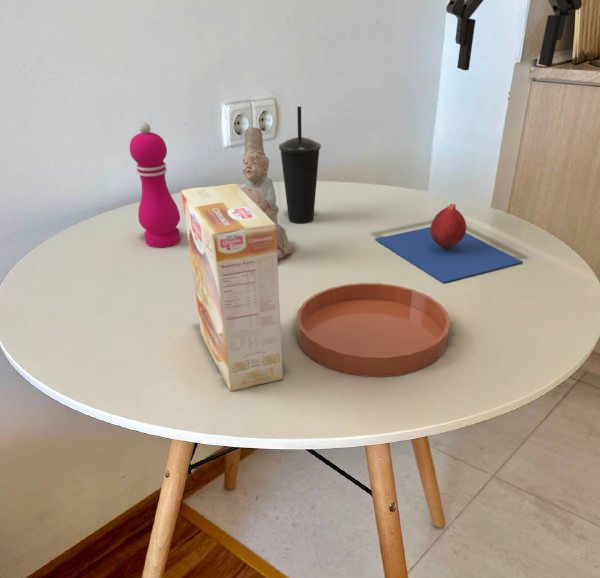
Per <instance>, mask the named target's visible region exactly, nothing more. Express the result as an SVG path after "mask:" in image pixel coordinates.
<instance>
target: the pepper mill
mask: <svg viewBox="0 0 600 578" xmlns="http://www.w3.org/2000/svg"><path fill="white" fill-rule="evenodd" d="M138 130H139V133H137V134H135V135H134V136H133V137H132V138H131V140H130V142H129V153H130V156H131V158H132V160H133V161H134V162H135V163H136V164H135V169H136V174H137V175H138V176H139V178H140V183H141V197H140V202H139V206H138V212H137V213H138V214H137V216H138V223H139V225H140V226H141V227H142V228H143V229H144V233H143V235H144V242H145V244H146V245H147V246H148V247H151V246H152V247H151V248H168V247H167V246H169V247H172V246H174V244H175V245H177V244H178V243H180V241H181V234H180V233H181V232H180V230H179V228H177V227H178V225H179V223H180V221H181V215H180V214H181V213H180V210H179V208H178V205H177V204H176V202H175V200H174V198H173V196H172V195H171V193H170V190H169V188H168V184H167V180H166V173H167V172H168V169H167V167H166V166H167V163H166V162H165V161H164V160H165V159H166V156H167V154H168V150H167V144H166V142H165V140H164V139H163V137H161V135H159V134H157V133H155V132H151V126H150V124H149V123H148V122H141V123H140V124H139V126H138ZM176 243H177V244H176ZM171 245H172V246H171Z"/></svg>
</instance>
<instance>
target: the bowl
mask: <svg viewBox="0 0 600 578" xmlns="http://www.w3.org/2000/svg"><path fill="white" fill-rule="evenodd" d="M450 328H451V320H450V317H449V313H448V311H447V310H446V309H445V308H444V307H443V306H442V304H441V303H440V302H438V301H437V300H435V299H433V298H432V297H431V296H429V295H427V294H425V293H423V292H421V291H418V290H416V289H412V288H408V287H405V286H402V285H401V286H400V285H396V284H389V283H383V282H382V283H380V282H359V283H348V284H347V283H346V284H341V285H337V286H334V287H329V288H326V289H324V290H321V291H318V292H317V293H315V294H313V295H311V296H310V297H309V298H308V299H306V300H305V301H303V302H302V304H301V306H300V307H299V308H298V310H297V315H296V336H297V340H298V344H299V346H300V348H301V349H302V351H303V352H304V353H305V355H307V356H308V357H309V358H310V359H312V360H313V361H315V362H317V363H318V364H320V365H322V366H324V367H326V368H328V369H331V370H334V371H337V372H341V373H345V374H349V375H354V376H362V377H393V376H400V375H405V374H410V373H413V372H417V371H419V370H422V369H424V368H426V367H428V366H430V365H432V364H433V363H435V362H436V361H437V360H438V359H439V358H441V356H442V355H443V353H444V352H445V350H446V348H447V345H448V340H449V335H450Z"/></svg>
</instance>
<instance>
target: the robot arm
mask: <svg viewBox="0 0 600 578" xmlns="http://www.w3.org/2000/svg"><path fill="white" fill-rule="evenodd" d="M547 1H548V3H549V5H550V7H551V10H552V11H553V14H548V15H547V19H546V23H545V29H544V35H543V39H542V44H541V49H540V54H539V59H538V65H541V66H544V67H552V66H553V60H554V56H555V51H556V47H557V43H558V42H557V41H561V40H562V38H563V35H564V30H565V25H566V21H567V17H570V16H571V15H572V13H573V12H574V11H579V10H580V9H581V8H582V6H583V1H582V0H547ZM483 2H484V0H449V1H448V3H447V5H446V8H445V10H446V13H448V14H451V15H453V16H455V18H456V19H457V22H456V30H455V31H456V32H455V38H454V41H455V44H457V45H459V50H458V58H457V67H456V68H457V69H460V70H461V71H470V65H471V64H470V63H471V56H472V50H473V49H472V48H473V41H474V34H475V27H476V19H474V18H471V17H472V16H473V15H474V13H475V12H476V11H477V9H478V8H479V7H480V5H481V4H482V3H483Z"/></svg>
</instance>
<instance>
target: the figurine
mask: <svg viewBox="0 0 600 578" xmlns="http://www.w3.org/2000/svg"><path fill="white" fill-rule="evenodd" d="M242 164H243V168H242V175H243V176H244V177H245V178H246V181H245V185H244V186H242V187H240V189H241V190H242V191H243V192H244V193H245V194H246V195H247V196H248V197H249V198H250V199H251V200H252V201H253V202H254V203H255V204H256V205H257V206H258V207H259V208H260V209H261V210H262V211H263V212H264V213H265V214H266V215H267V216H268V217H269V218H270V219H271V220H272V221H273V222H274V223H275V224H276V242H277V260H279V259H282V258H283V257H285V256H286V255H290V254H292V253H293V246H292V244H291V243H289V242H290V241H289V239H288V236H287V231H286V229H285V228H284V227H283V226H282V225H280V224H279V222H278V214H279V213H280V210H279V209H280V208H279V206H278V205H277V195H276V190H275V186H274V183H273V180H272V179H271V178H270V177H268V172H269V167H270V166H269V165H270V159H269V157H268V156H267V154H266V153H265V149H264V139H263V133H262V129H261V128H259V127H248V128H246V129H245V131H244V154H243V158H242Z"/></svg>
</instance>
